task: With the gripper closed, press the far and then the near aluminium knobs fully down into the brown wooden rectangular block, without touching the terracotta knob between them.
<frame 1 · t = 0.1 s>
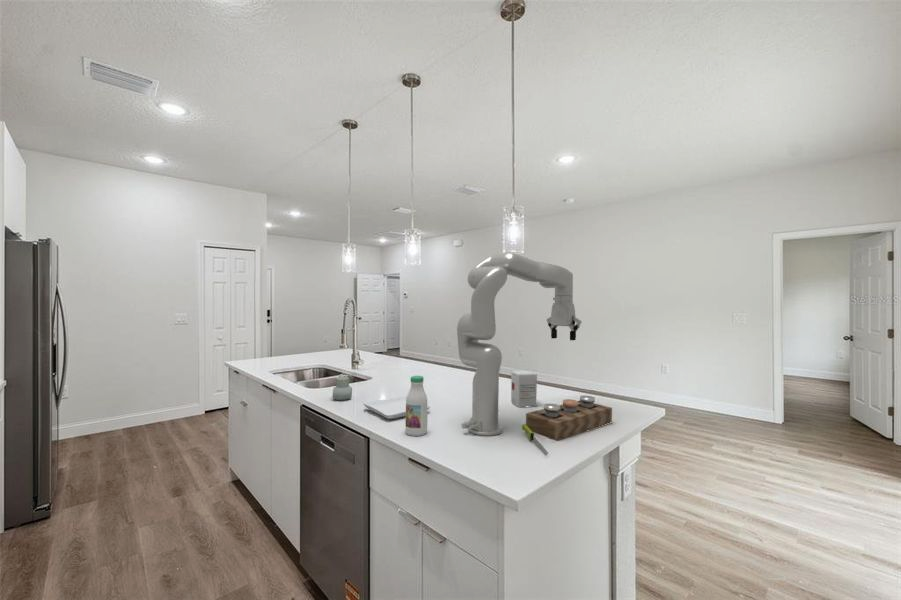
hand: (563, 339, 167), 31 cm above the counter, fingers open, 9 cm apart
salad plate: (396, 413, 162), on the counter
milk bottle: (416, 433, 137), on the counter
kitchen knife: (534, 445, 127), on the counter
knob middle: (570, 409, 146), point 7 cm above the counter, slide at 0.0 cm
brown wooden rectangular block: (570, 426, 146), on the counter
air freshener: (342, 399, 182), on the counter
knob far: (587, 404, 153), point 7 cm above the counter, slide at 0.0 cm
supplement box: (523, 405, 176), on the counter
knob near: (551, 413, 140), point 6 cm above the counter, slide at 0.0 cm
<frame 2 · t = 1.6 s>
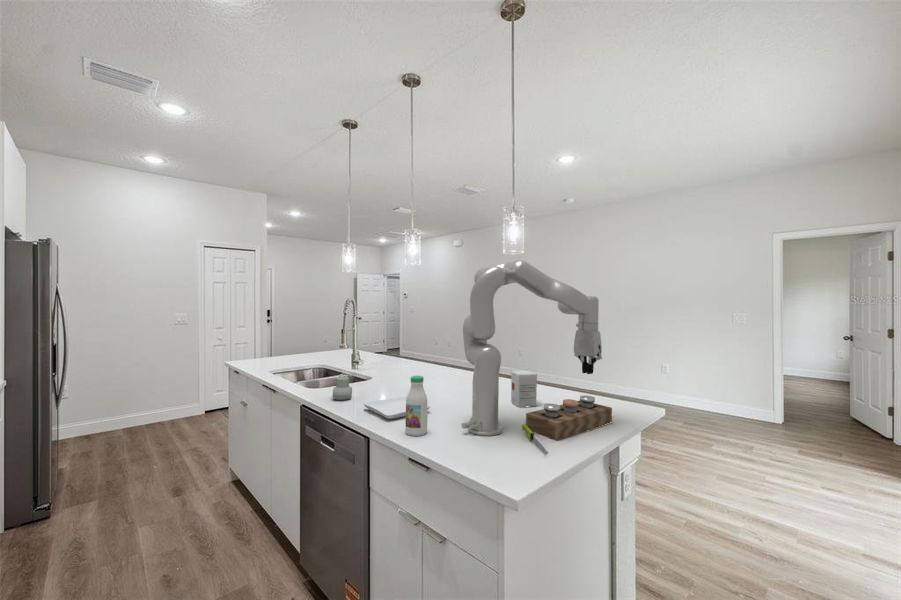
hand: (587, 373, 153), 19 cm above the counter, fingers closed
nothing on the counter moved.
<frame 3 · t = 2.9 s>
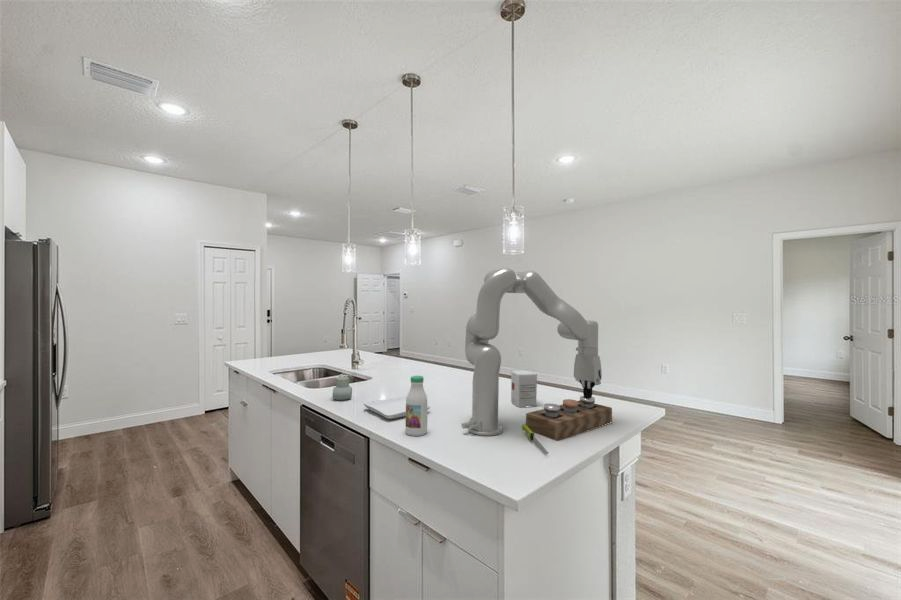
hand: (587, 397, 153), 9 cm above the counter, fingers closed
knob far: (587, 405, 153), point 6 cm above the counter, slide at 0.2 cm, touching gripper
everything else where it was.
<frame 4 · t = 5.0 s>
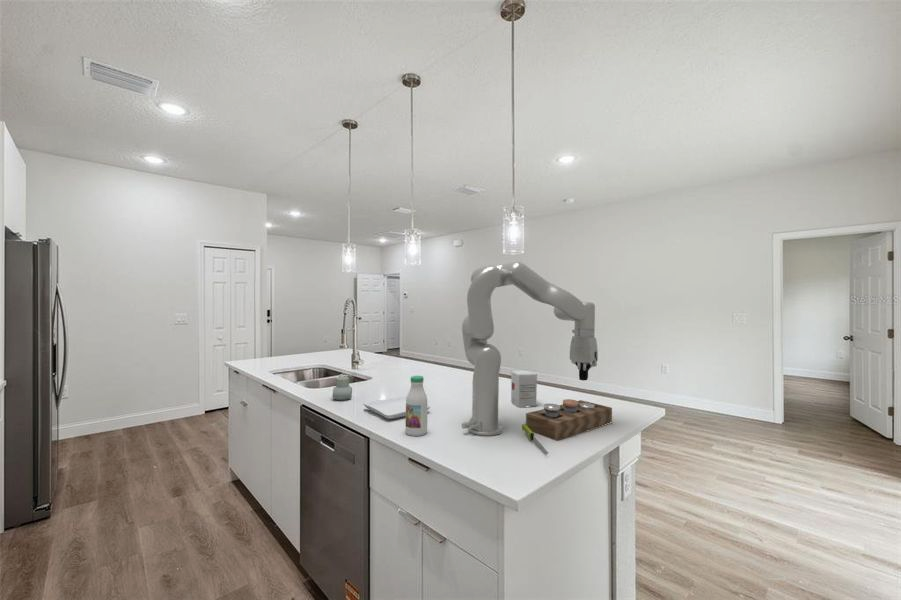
hand: (583, 379, 151), 17 cm above the counter, fingers closed
knob far: (587, 412, 153), point 3 cm above the counter, slide at 3.0 cm
everything else where it was.
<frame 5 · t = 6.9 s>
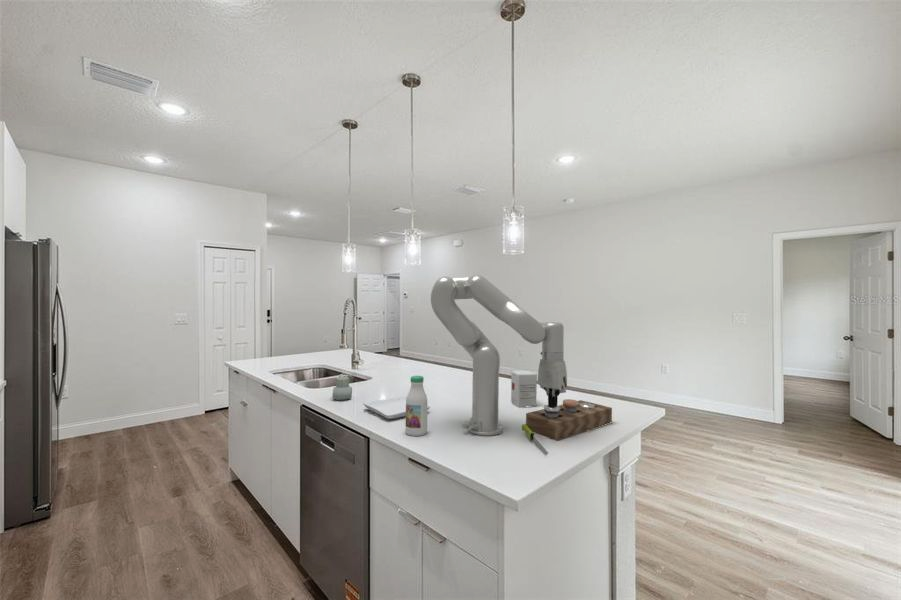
hand: (552, 406, 140), 9 cm above the counter, fingers closed
knob near: (551, 414, 140), point 6 cm above the counter, slide at 0.4 cm, touching gripper
everything else where it was.
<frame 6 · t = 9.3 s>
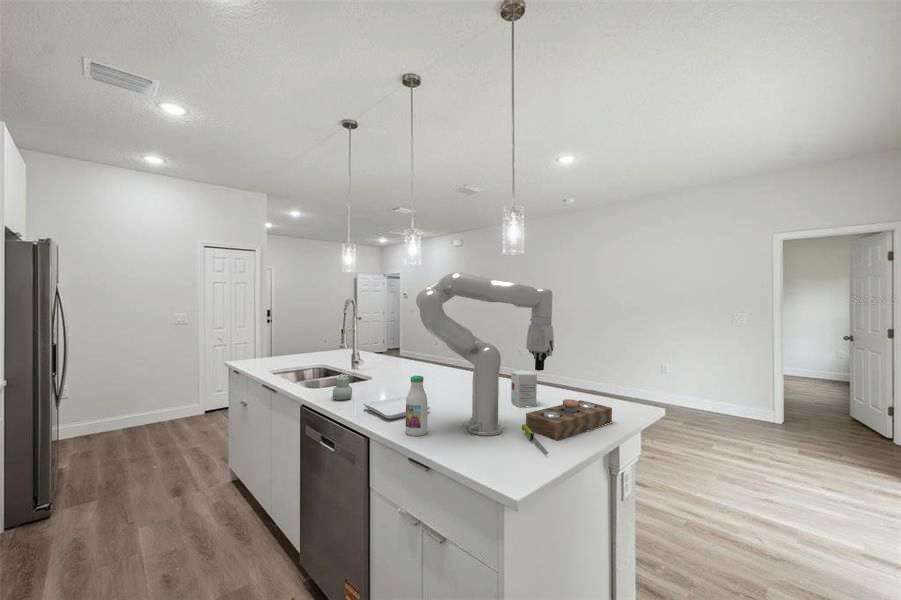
hand: (539, 370, 145), 21 cm above the counter, fingers closed
knob near: (551, 422, 140), point 3 cm above the counter, slide at 3.0 cm
everything else where it was.
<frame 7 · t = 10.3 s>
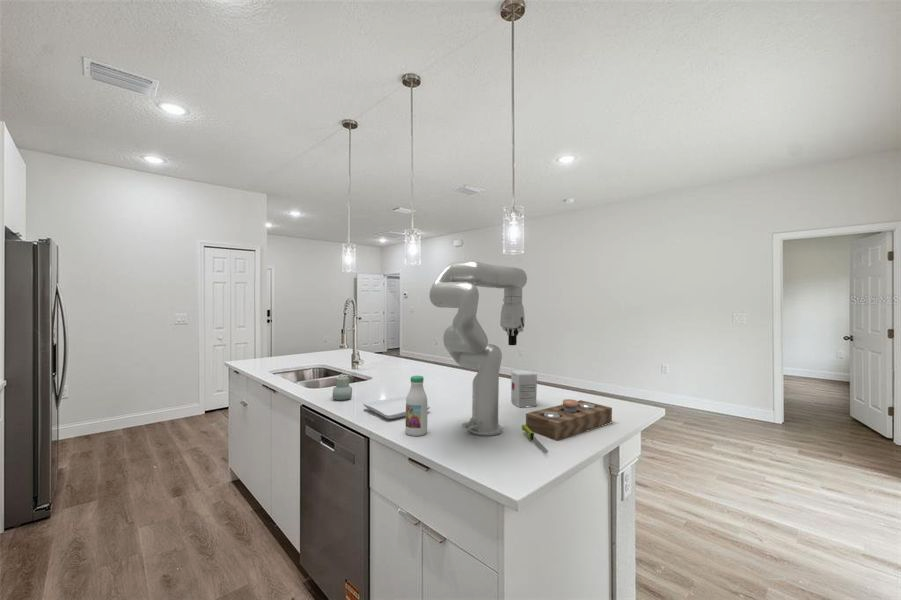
hand: (512, 345, 160), 29 cm above the counter, fingers closed
nothing on the counter moved.
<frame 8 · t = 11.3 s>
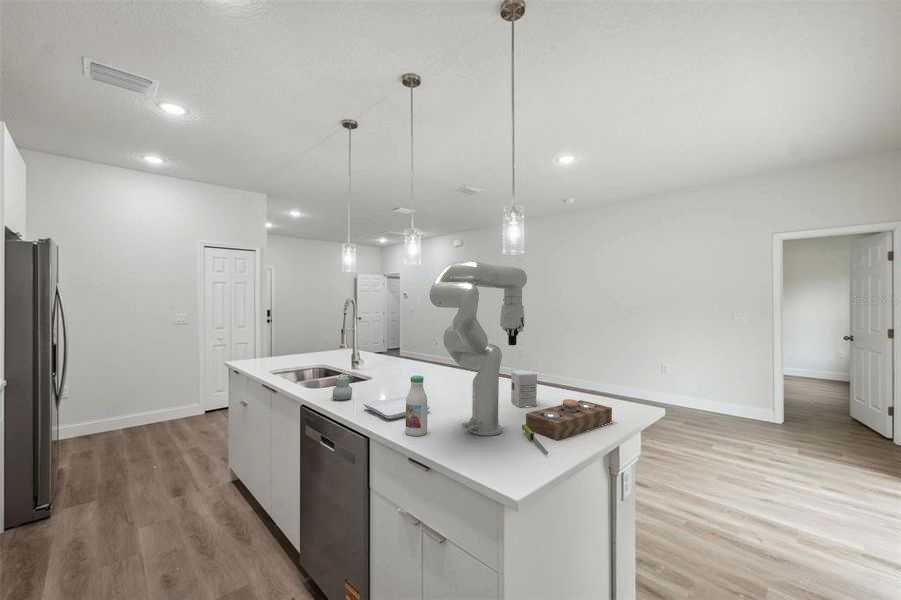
hand: (512, 345, 160), 29 cm above the counter, fingers closed
nothing on the counter moved.
at the end: knob far slide at 3.0 cm; knob near slide at 3.0 cm; knob middle slide at 0.0 cm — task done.
